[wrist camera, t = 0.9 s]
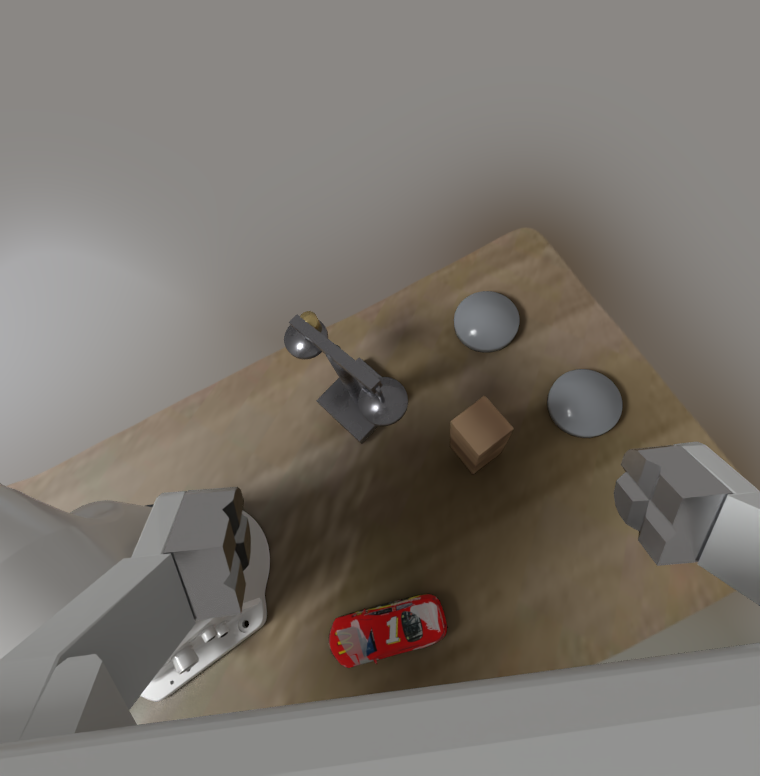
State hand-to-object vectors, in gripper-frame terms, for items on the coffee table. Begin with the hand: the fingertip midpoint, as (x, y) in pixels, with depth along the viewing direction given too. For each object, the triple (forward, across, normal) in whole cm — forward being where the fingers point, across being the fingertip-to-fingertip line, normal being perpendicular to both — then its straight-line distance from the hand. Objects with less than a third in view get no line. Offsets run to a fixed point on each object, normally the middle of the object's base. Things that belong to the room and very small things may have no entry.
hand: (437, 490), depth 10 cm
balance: (+46, +1, -26) cm, 53 cm away
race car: (+26, +1, -44) cm, 51 cm away
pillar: (+38, +14, -30) cm, 50 cm away
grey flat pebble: (+51, +18, -18) cm, 57 cm away
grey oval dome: (+40, +27, -25) cm, 54 cm away
